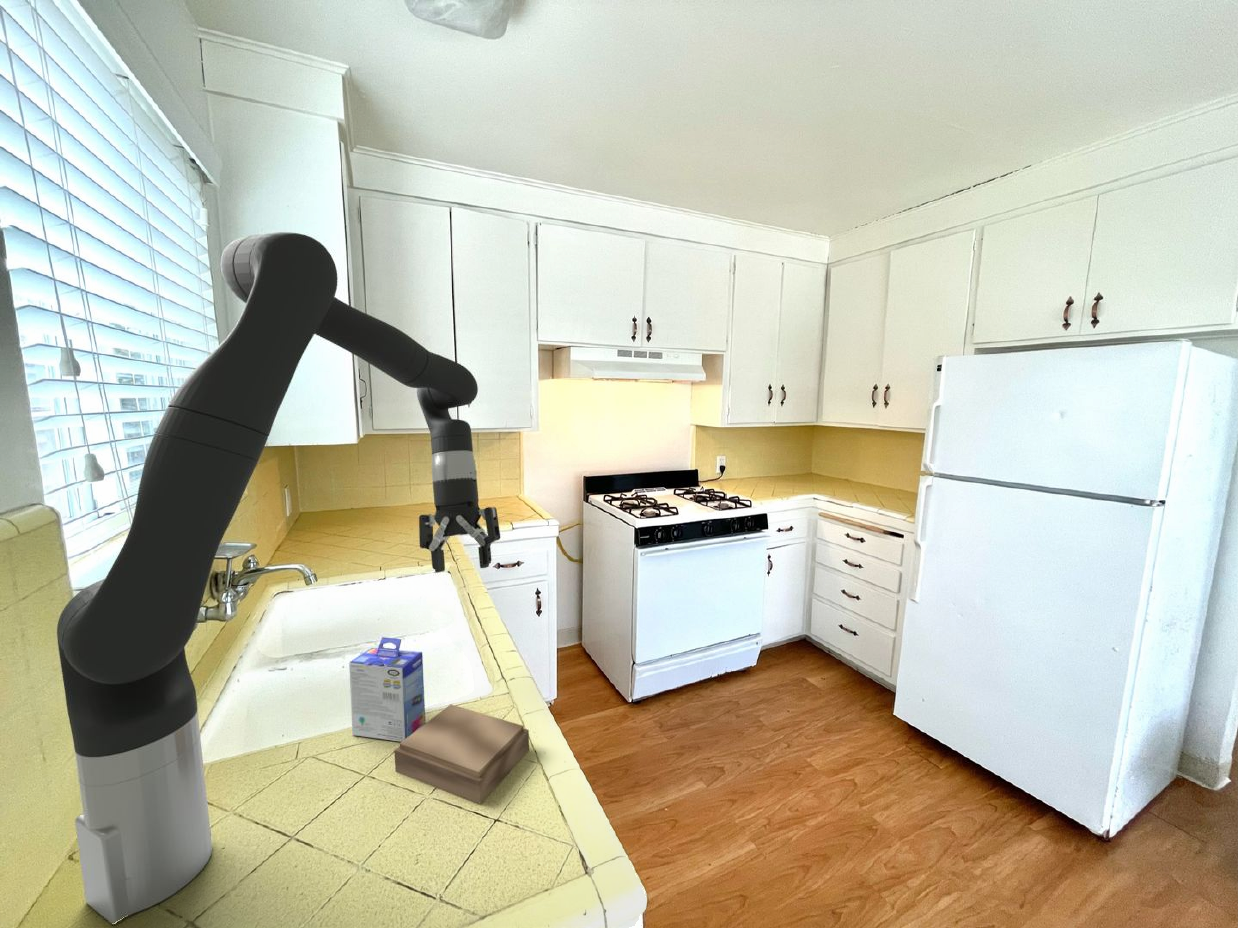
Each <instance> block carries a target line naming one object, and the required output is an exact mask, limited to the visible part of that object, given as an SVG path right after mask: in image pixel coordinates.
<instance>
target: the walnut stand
mask: <svg viewBox="0 0 1238 928" xmlns="http://www.w3.org/2000/svg"><path fill="white" fill-rule="evenodd" d="M524 727H525V726H524V725H522V724H519V723H515V722H511V721H509V720H505V719H501V718H498V717H495V716H492V715H488V714H485V713H482V712H478V711H475V710H472V709H468V708H464V707H461V706H458V705H455V704H448V706H446V707H445V708H444V709H442V710H441V711H440V712H439V713H437V714H436V715H434V717H432V718H431V719H429V720H427V722H426V723H425V724H424V725H423V726H422V727H420V728H419V729H418V730H416V731H415V732H414V733H413V734H411V735H410V736H409V737H407V738H406V739H405V740H403V741H402V742H399V746H398V747H396V748H395V749H394V750H393V751H394V752H393V753H394V765H395V766H394V767H395V772H397V773H399V774H402V775H404V776H406V777H409V778H412V779H414V780H416V781H419V782H421V783H422V782H423V783H424V784H427V785H429V786H431V787H435V788H437V789H438V790H439V789H440V790H442V791H445V792H447V793H449V794H452V795H455V796H458V797H460V798H462V799H464V800H467V801H470V802H472V803H475V804H477V805H482V804H483V803H484V802H485V800H486V799H487V798H488V797H489V796H490V795H491V793H492V792H493V791H494V790H495V789H496V788H497V786H499V784H500V783H501V782H502V781H503V780H504V779H505V778H506V777H507V775H508V774H510V772H511V771H512V770H513V769H514V767H515V766H516V765H517V764H518V763H519V762H520V761H521V760H522V758H524V757H525V755H526V754H527V753H528V752H529V751H530V735H529V734H530V733H529V729H527V728H524Z"/></svg>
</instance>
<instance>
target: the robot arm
mask: <svg viewBox="0 0 1238 928" xmlns="http://www.w3.org/2000/svg"><path fill="white" fill-rule="evenodd" d="M220 270H221V275H222V278H223V279H224V281H225V283H226V285H227V286H228V288H229V290H231V292H232V293H233V294H234V295H235V296H236V297H237V298H238V299H240V301H242V302H243V303H245V305H244V308H243V310H242V313H241V315H240V317H239V318H238V320H237V323H235V325H234V327H233V328H232V330H231V332H230V333H229V334H228V335H227V336H226V338H225V339H224V340H223V341H222V342H221V343H220V344H219V345H218V346H217V347H216V348H215V349H214V350H213V351H212V352H211V353H210V354H209V355H208V356H207V357H206V358H205V359H204V360H202V362H201V363H200V364H199V365H198V366H197V367H196V368H195V369H194V370H193V371H192V372H191V373H190V374H189V375H188V376H187V378H186V379H185V380H183V382H182V383H181V384H180V386H179V387H178V388H177V389H176V391H175V393H174V394H173V396H172V397H171V399H170V401H169V403H168V404H167V407H166V410H165V411H164V413H163V415H162V417H161V420H160V421H159V424H158V426H157V428H156V430H155V433H154V434H153V436H152V439H151V441H150V444H149V447H148V450H147V453H146V456H145V460H144V464H143V468H142V473H141V477H140V481H139V485H138V490H137V498H136V502H135V503H136V504H135V509H134V513H133V518H132V521H131V522H132V523H131V525H130V528H129V531H128V534H127V536H126V539H125V540H124V543H123V545H122V547H121V549H120V551H119V553H118V555H117V556H116V558H115V560H114V562H113V564H112V566H111V568H110V570H109V571H108V573H107V575H106V577H105V578H104V579H101V580H99V581H96V582H94V583H92V584H90V585H88V586H86V587H85V588H83V589H81V590H80V591H79V592H78V593H76V594H75V595H74V596H73V597H72V598H71V600H69V601H68V603H67V604H66V605H65V607H64V608H63V609H62V612H61V613H60V615H59V617H58V621H57V628H56V635H57V638H56V639H57V646H58V647H57V648H58V655H59V661H60V668H61V675H62V680H63V688H64V694H65V704H66V709H67V710H66V711H67V715H68V716H67V717H68V720H69V725H70V730H71V736H72V741H73V748H74V749H73V750H74V753H75V754H74V755H75V762H76V763H75V764H76V770H77V777H78V784H79V792H80V800H81V808H82V813H81V814H80V815H78V816H76V818H75V819H74V823H75V824H74V825H75V832H76V839H77V846H78V855H79V862H80V868H81V875H82V882H83V883H82V884H83V890H84V897H85V903H86V904H88V905H89V906H90V907H91V908H92V909H93V910H94V911H96V912H97V913H98V914H99V915H100V916H101V917H103V916H104V917H105V918H106V919H107V920H109V921H110V922H111V923H115V922H116V921H118V920H120V919H122V918H123V917H125V916H127V915H129V916H131V915H133V914H136V913H138V912H141V911H143V910H146V909H149V908H150V907H152V906H154V905H157V904H159V903H161V902H163V901H164V900H166V899H168V898H169V897H170V896H173V895H174V894H175V893H177V892H179V891H180V890H181V889H182V888H184V887H185V886H187V885H188V884H189V883H190V882H191V881H192V880H193V879H194V878H195V877H197V875H198V874H199V873H200V872H201V871H202V870H203V869H204V868H205V866H206V864H207V863H208V862H209V860H210V858H211V856H212V850H213V844H212V829H211V824H210V816H209V815H210V813H209V805H208V804H209V803H208V796H207V788H206V787H207V786H206V777H205V767H204V758H203V750H202V749H203V748H202V747H203V746H202V739H201V730H200V721H199V713H198V712H199V710H198V699H197V691H196V686H195V684H194V681H193V678H192V675H191V673H190V669H189V665H188V661H187V657H186V649H185V647H186V645H187V644H188V643H189V641H190V639H191V637H192V635H193V633H194V630H195V627H196V623H197V621H198V618H199V613H200V609H201V606H202V602H203V598H204V595H205V591H206V588H207V586H208V585H207V584H208V581H209V579H210V574H211V571H212V568H213V564H214V560H215V558H216V555H217V552H218V549H219V547H220V545H221V542H222V540H223V538H224V535H225V533H226V531H227V530H228V528H229V525H230V524H231V521H232V519H233V517H234V516H235V513H236V511H237V510H238V507H239V505H240V502H241V500H242V498H243V496H244V493H245V491H246V489H247V486H248V484H249V482H250V480H251V477H252V475H253V473H254V471H255V470H256V467H257V465H258V463H259V461H260V458H261V455H262V453H263V451H264V448H265V446H266V444H267V441H268V439H269V437H270V435H271V434H270V433H271V432H272V429H273V426H274V423H275V419H276V417H277V415H278V412H279V410H280V408H281V405H282V403H283V401H284V399H285V396H286V394H287V392H288V390H289V387H290V385H291V383H292V380H293V377H294V375H295V372H296V370H297V368H298V366H299V364H300V361H301V359H302V357H303V355H304V354H305V351H306V350H307V347H308V346H309V344H310V342H311V341H312V339H313V337H314V336H318V337H320V338H322V339H324V340H326V341H328V342H330V343H331V344H334V345H336V346H338V347H340V348H342V349H343V350H345V351H347V352H348V353H350V354H353V355H355V356H356V357H358V358H359V359H361V360H363V361H364V362H366V363H368V364H370V365H371V366H373V367H374V368H376V369H378V370H379V371H381V372H383V373H384V374H386V375H388V376H389V377H391V378H392V379H394V380H395V381H397V382H399V383H400V384H402V385H403V386H406V387H409V388H412V389H416V397H417V401H418V404H419V406H420V409H421V411H422V414H423V416H424V419H425V422H426V426H427V428H428V431H429V433H430V434H429V435H430V446H431V480H432V490H433V504H434V507H435V513H434V514H431V513H425V514H420V515H419V517H418V526H419V527H418V529H419V531H418V532H419V533H418V534H419V548H420V549H425V550H428V551H429V552H430V555H431V566H432V569H433V570H434V572H435V573H441V572H444V571H445V570H446V564H445V563H446V562H445V551H444V549H443V548H444V546H445V544H446V542H447V540H449V539H450V538H451V537H453V536H463V535H469V536H470V537H471V538H473V539H474V540H475V541H476V543H477V544H478V545H479V546H478V547H477V549H478V558H479V559H478V560H479V561H478V562H479V568H480V569H486V568H489V567H490V564H491V563H492V551H491V550H492V549H491V545H492V544H493V543H495V542H498V541H499V540H500V539H501V529H500V524H499V516H498V510H497V508H496V507H495V506H488V507H487V506H486V507H485V508H480V506H479V487H478V477H477V476H478V473H477V467H476V465H477V464H476V461H475V458H474V457H475V456H474V448H473V437H472V429H471V425H470V424H469V423H468V422H467V421H466V420H462V419H455V418H452V417H451V415H450V412H449V409H452V408H453V409H454V408H458V407H459V408H460V407H462V406H463V407H465V406H466V405H470V404H471V403H472V402H473V401H474V400H476V398H477V396H478V393H479V392H478V390H479V387H478V383H477V380H476V378H475V377H474V375H473V373H472V372H471V371H470V370H469V369H468V368H467V367H465V366H464V365H462V364H461V363H458V362H456V361H454V360H453V359H450V358H447V357H445V356H442V355H440V354H439V353H438V354H437V353H434V352H432V351H429V350H428V349H427V348H425V347H424V346H423V345H421V343H419V342H417V340H415V339H413V338H412V337H410V335H408V334H406V333H405V332H404V331H402V330H400V329H398V328H397V327H395V326H394V325H392V324H390V323H387V322H386V321H383V320H381V319H379V318H376V317H374V316H372V315H370V314H368V313H366V312H363V311H361V310H360V309H357V308H355V307H353V306H352V305H350V304H347V303H345V302H344V301H342V300H340V298H337V297H336V293H337V291H338V290H337V289H338V279H339V278H338V270H337V266H336V264H335V260H334V259H333V257H332V254H331V253H330V251H329V250H328V249H327V247H325V245H324V244H322V243H321V242H320V241H318V240H317V239H316V238H313V237H312V236H310V235H306V234H302V233H299V232H290V231H289V232H285V231H283V232H282V231H280V232H272V233H270V232H269V233H263V234H252V235H247V236H242V237H239V238H238V239H234V240H233V241H231V242H230V243H229V244H228V245H226V246H225V248H224V249H223V251H222V253H221V257H220ZM481 517H482V519H483V520H484V521H485V526H486V531H485V529H484V528H483V527H482V526H481V524H480V523H479V521H480V519H481ZM435 524H437V525H438V527H437V530H436V531H435V532H434V526H435ZM104 917H103V918H104ZM127 917H128V916H127ZM105 918H104V919H105ZM106 919H105V920H106ZM107 920H106V921H107ZM109 921H108V922H109ZM110 922H109V923H110ZM111 923H110V924H111Z"/></svg>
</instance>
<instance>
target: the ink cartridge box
mask: <svg viewBox="0 0 1238 928" xmlns="http://www.w3.org/2000/svg"><path fill="white" fill-rule="evenodd" d="M401 643H402V638H396V637H395V638H391V637H385V636H382V637H381V639H380V643H379V645H378V648H374V647H371V648H369V649H367V650H366V651H364V652H362V653H361V654H360V655H358V656H357V657H355V658H354V659H352V660H350V661H349V663H348V665H349V667H348V669H349V684H350V686H349V689H350V690H349V691H350V709H351V710H350V714H351V731H352V732H351V734H352V735H353V736H358V737H366V738H372V739H379V740H385V741H386V740H387V741H394V742H399V743H401V742H402V741H403V740H405V739H406V738H407V737H409V736H410V735H411V734H413V733H414V732H415V731H416V730H418V729H419V728H420V727H422V726H423V725H424V724H426V723H427V722H426V707H425V706H426V705H425V685H424V683H425V682H424V663H423V662H424V661H423V659H424V658H423V657H424V656H423V652H422V651H415V650H414V651H411V650H402V649H401V650H400V648H401ZM385 644H393V645H395V648H391V647H384V645H385Z"/></svg>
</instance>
